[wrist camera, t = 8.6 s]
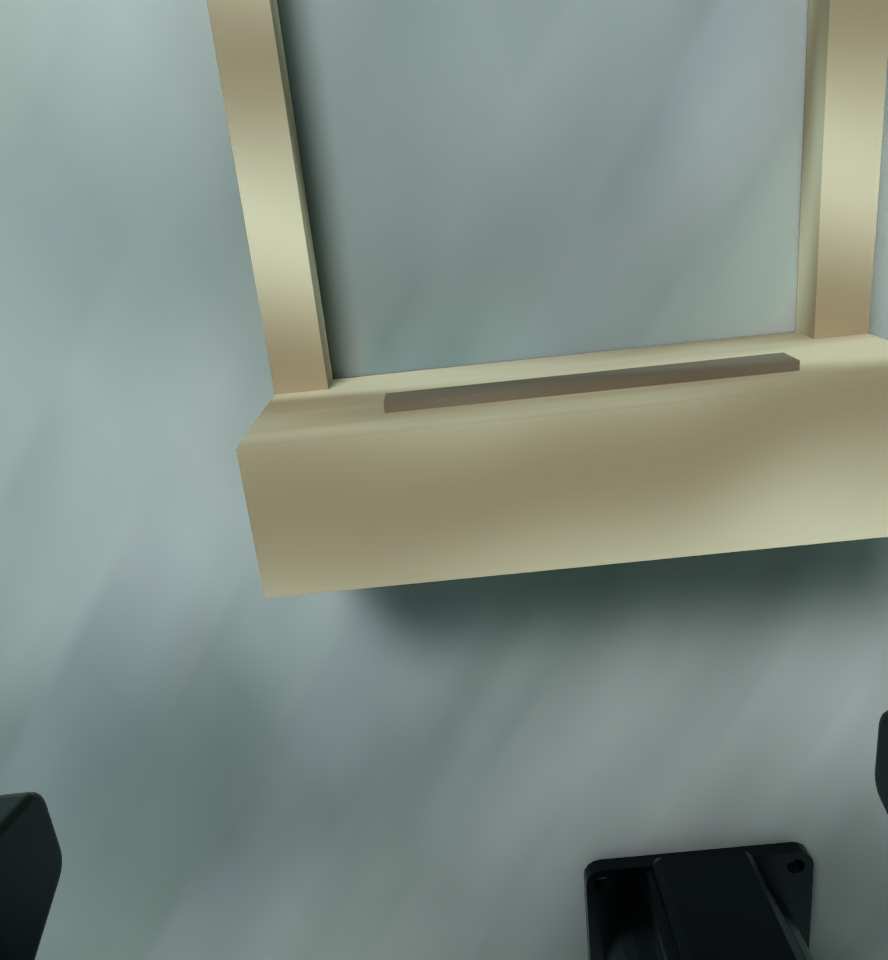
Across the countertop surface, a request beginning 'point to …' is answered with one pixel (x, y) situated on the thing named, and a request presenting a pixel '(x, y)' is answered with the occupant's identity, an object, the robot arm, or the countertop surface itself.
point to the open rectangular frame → (567, 383)
